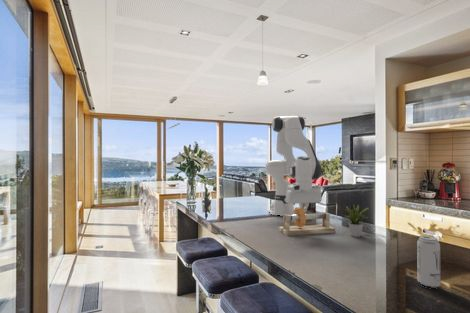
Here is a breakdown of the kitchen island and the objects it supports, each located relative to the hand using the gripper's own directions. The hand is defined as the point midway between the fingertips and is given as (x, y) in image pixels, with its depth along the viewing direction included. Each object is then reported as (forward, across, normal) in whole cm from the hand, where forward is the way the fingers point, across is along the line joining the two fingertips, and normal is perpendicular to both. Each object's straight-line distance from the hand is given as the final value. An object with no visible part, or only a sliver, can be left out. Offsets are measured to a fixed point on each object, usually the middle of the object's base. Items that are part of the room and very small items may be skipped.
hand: (303, 211), depth 156 cm
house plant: (+11, -22, +15) cm, 29 cm away
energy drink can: (+11, -6, +70) cm, 71 cm away
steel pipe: (+5, -2, 0) cm, 5 cm away
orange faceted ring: (+8, +3, 0) cm, 9 cm away
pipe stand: (+11, -2, 0) cm, 11 cm away
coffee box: (+11, -12, -17) cm, 24 cm away
